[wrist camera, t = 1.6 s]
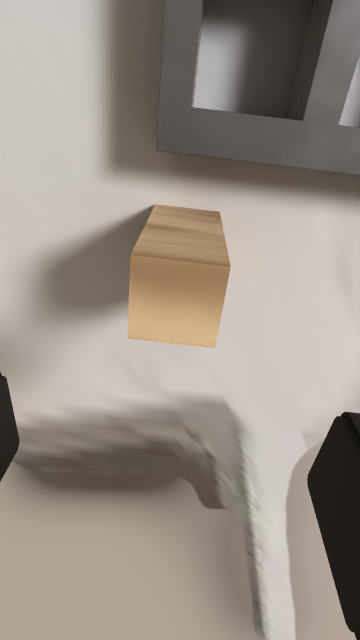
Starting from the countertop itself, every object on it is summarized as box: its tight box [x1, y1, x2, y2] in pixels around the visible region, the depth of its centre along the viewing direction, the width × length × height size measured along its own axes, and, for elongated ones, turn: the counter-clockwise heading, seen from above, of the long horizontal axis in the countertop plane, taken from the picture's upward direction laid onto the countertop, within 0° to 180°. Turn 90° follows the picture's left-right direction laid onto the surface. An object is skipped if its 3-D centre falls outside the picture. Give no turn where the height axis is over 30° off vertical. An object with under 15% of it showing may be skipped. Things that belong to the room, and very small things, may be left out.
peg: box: [128, 204, 230, 348], centre depth 21 cm, size 4×4×10 cm
